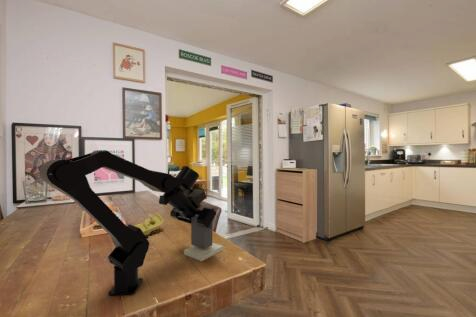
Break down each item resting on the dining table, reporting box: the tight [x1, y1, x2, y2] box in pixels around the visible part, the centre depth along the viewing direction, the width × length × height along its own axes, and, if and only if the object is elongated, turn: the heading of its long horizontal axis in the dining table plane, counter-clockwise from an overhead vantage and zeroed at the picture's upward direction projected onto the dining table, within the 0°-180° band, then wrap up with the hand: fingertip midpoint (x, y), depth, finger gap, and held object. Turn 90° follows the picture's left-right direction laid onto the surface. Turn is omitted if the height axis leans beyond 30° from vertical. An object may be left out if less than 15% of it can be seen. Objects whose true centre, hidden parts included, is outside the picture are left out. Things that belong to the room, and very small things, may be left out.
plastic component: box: [133, 212, 164, 236], centre depth 98 cm, size 20×7×10 cm
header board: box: [183, 242, 224, 262], centre depth 79 cm, size 11×9×4 cm
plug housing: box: [190, 216, 213, 249], centre depth 80 cm, size 4×7×12 cm, turn 53°
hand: (204, 225), depth 81 cm, fingers closed on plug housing, 7 cm apart
